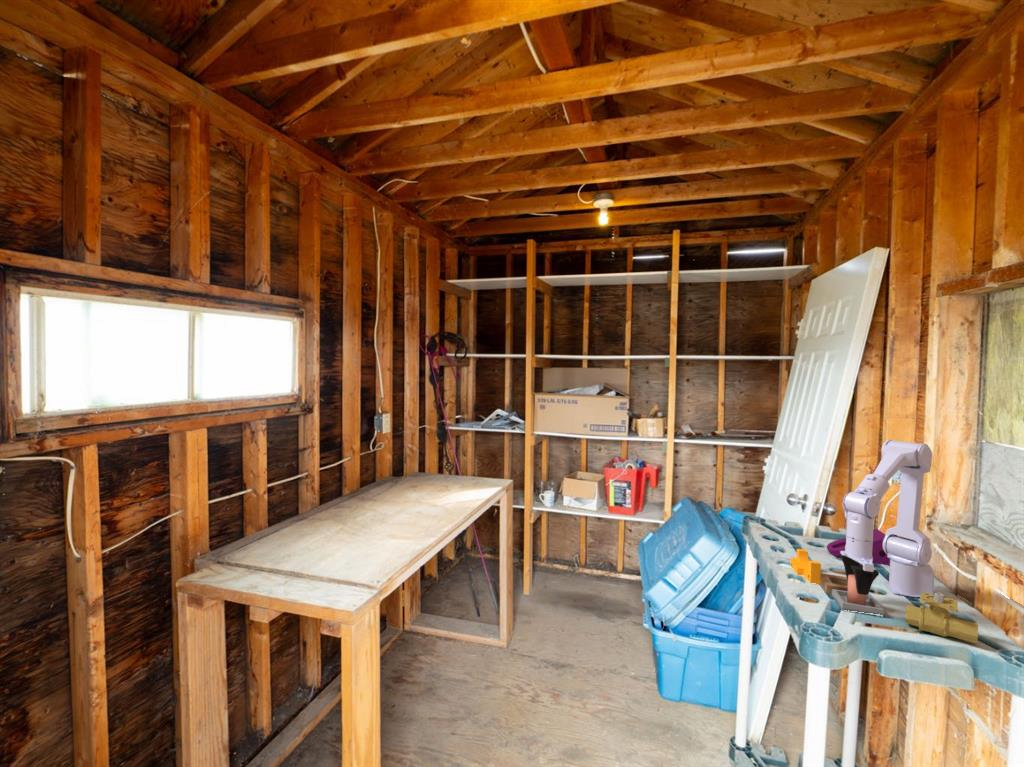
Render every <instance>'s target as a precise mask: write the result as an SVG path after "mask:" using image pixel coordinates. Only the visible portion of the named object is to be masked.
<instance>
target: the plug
mask: <svg viewBox="0 0 1024 767" xmlns="http://www.w3.org/2000/svg"><path fill="white" fill-rule="evenodd" d="M847 602H848V603H852V604H858V605H864V606H866V595H863V594H858V592H857V588H856V580H855V575H848V591H847Z"/></svg>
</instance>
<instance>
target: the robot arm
mask: <svg viewBox="0 0 1024 767" xmlns="http://www.w3.org/2000/svg"><path fill="white" fill-rule="evenodd" d="M932 461H933V452H932V449H931V447H930V446H929V445H928V444H926V443H917V442H916V443H915V442H908V441H901V440H899V441H898V440H892V439H886V440H885V441H884V442H883V444H882V446H881V460H880V462H879V463H878V465H877V467H876V469H875V470H874V472H873V473H869V474H866V475H865V477H864V478H863V479H862V481H860V483H859V485H858V486H857V487H856V488H855V490H854V491H851V492H848V493H846V494H845V495H844V497H843V499H842V510H843V511H844V518H845V519H846V533H845V534H846V536H845V538H846V545H845V551H840V553H841V554H840V556H839V557H840V558H841V560H842V563H843V566H844V571H845V577H847V581H848V575H855V580H856V588H857V592H858V594H863V595H869V593H870V591H871V587H872V586H873V583H874V581H875V580H876V578H877V577H879V574H880V572H879V571H878V570H877V569H874V568H875V565H874V563H873V562H874V561H873V556H872V547H873V530H874V521H875V520H874V519H875V517H876V516H878V515H879V512H880V508H881V505H882V499H883V498H884V496H885V494H886V493H887V492H888V490H889V489H890V483H889V481H890V480H891V479H892V478H893V476H895V474H896V473H898V471H899V472H900V473H901V477H900V483H899V484H900V485H899V493H898V494H899V495H898V507H897V515H896V516H897V517H896V525H894V526H893V527H889V528H887V529H886V530H885V531H886V532H885V533H884V534H885V538H884V540H883V550H884V552H885V553H886V554H888V555H887V557H888V558H890V565H889V572H888V573H889V574H888V575H889V577H888V578H889V579H888V581H883V582H882V584H883V585H885V587H887V588H888V589H889V590H890V589H891V590H890V591H891V592H892V594H894V593H895V594H894V595H898V594H900V595H899V596H905V597H911V598H917V597H920V598H921V593H922V592H926V593H930V594H932V595H934V594H935V572H934V570H933V567H932V566H931V565H930V564H929V563H930V562H931V559H932V554H933V553H932V552H933V551H932V547H931V546H932V545H931V539H930V537H928V536H927V535H926V533H924V532H922V531H921V529H920V519H921V509H922V498H923V488H924V487H923V485H924V477H925V474H927V473H930V472H931V469H932ZM920 598H919V599H920Z"/></svg>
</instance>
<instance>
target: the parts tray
mask: <svg viewBox="0 0 1024 767" xmlns="http://www.w3.org/2000/svg"><path fill="white" fill-rule="evenodd" d="M831 598H833V600H834V601H835V602H836V604H837V605H838V607H839V608H840V609H841V611H843V610H847V611H848V610H849V611H857V612H864V613H873V614H880V615H884V616H885V609H884V608H883V607H882V606H881V605H880V604H879V603H878V602H877V600H876V599H875V598H874V597H873V596H872V594H868V595H866V606H864V605H858V604H852V603H848V602H847V591H842V590H836V589H832V594H831ZM847 611H846V612H847ZM843 612H844V611H843Z"/></svg>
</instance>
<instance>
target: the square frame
mask: <svg viewBox="0 0 1024 767" xmlns="http://www.w3.org/2000/svg"><path fill="white" fill-rule="evenodd" d="M819 586H820V587H821V588H822V589H823V591H824V592H825V594H827V595H832V589H836V590H842V591H848V581H847V577H846V576H842V575H841V576H840V575H835V574H829V573H828V574H827V573H824V572H823V573H821V576H820V585H819Z"/></svg>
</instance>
